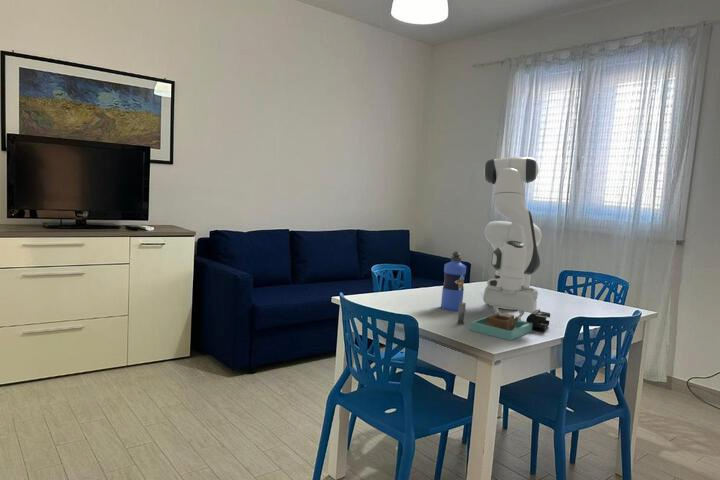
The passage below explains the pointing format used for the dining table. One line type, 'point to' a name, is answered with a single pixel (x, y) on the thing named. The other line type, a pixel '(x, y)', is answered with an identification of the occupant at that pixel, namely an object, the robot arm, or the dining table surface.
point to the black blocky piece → (539, 321)
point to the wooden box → (501, 321)
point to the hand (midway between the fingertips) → (507, 319)
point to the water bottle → (453, 283)
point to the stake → (461, 313)
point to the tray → (518, 331)
